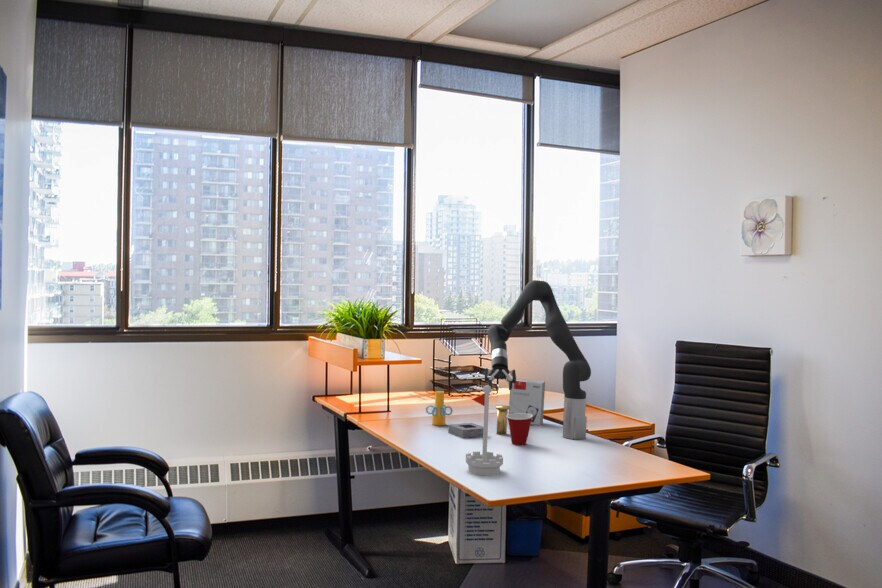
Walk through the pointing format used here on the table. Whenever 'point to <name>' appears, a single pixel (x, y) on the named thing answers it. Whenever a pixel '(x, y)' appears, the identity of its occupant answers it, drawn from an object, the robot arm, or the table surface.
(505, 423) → the gold capped peg
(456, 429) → the jig
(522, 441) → the plastic cup
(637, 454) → the table surface
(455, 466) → the table surface
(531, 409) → the hard drive box
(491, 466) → the flag stand
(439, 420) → the tube with loops
